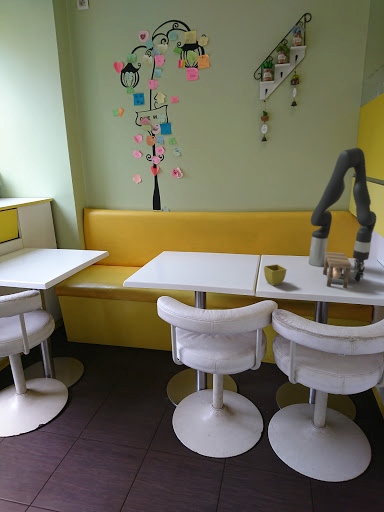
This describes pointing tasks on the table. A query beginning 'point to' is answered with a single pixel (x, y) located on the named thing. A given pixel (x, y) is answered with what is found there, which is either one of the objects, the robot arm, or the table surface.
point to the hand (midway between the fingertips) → (356, 280)
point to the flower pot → (274, 274)
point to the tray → (341, 276)
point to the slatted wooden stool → (336, 261)
